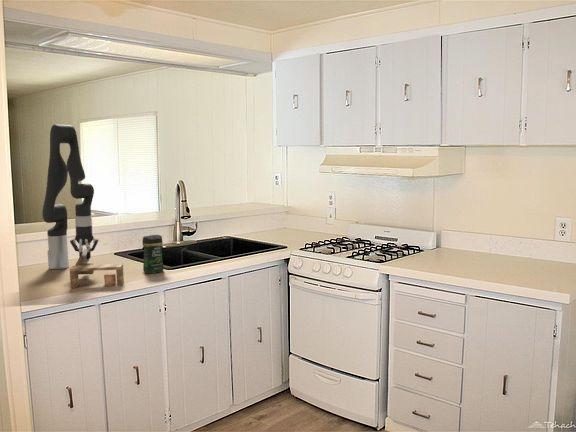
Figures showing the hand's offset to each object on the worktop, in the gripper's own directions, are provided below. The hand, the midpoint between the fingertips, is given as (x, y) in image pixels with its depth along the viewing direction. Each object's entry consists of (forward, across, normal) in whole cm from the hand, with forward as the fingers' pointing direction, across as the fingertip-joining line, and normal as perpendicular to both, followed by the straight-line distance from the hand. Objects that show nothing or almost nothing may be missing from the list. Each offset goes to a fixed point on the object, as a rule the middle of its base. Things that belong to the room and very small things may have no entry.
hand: (85, 259), depth 269 cm
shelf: (+7, +10, -22) cm, 25 cm away
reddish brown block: (+7, +15, -22) cm, 28 cm away
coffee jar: (+7, +33, 0) cm, 33 cm away
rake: (+2, +3, -4) cm, 5 cm away
